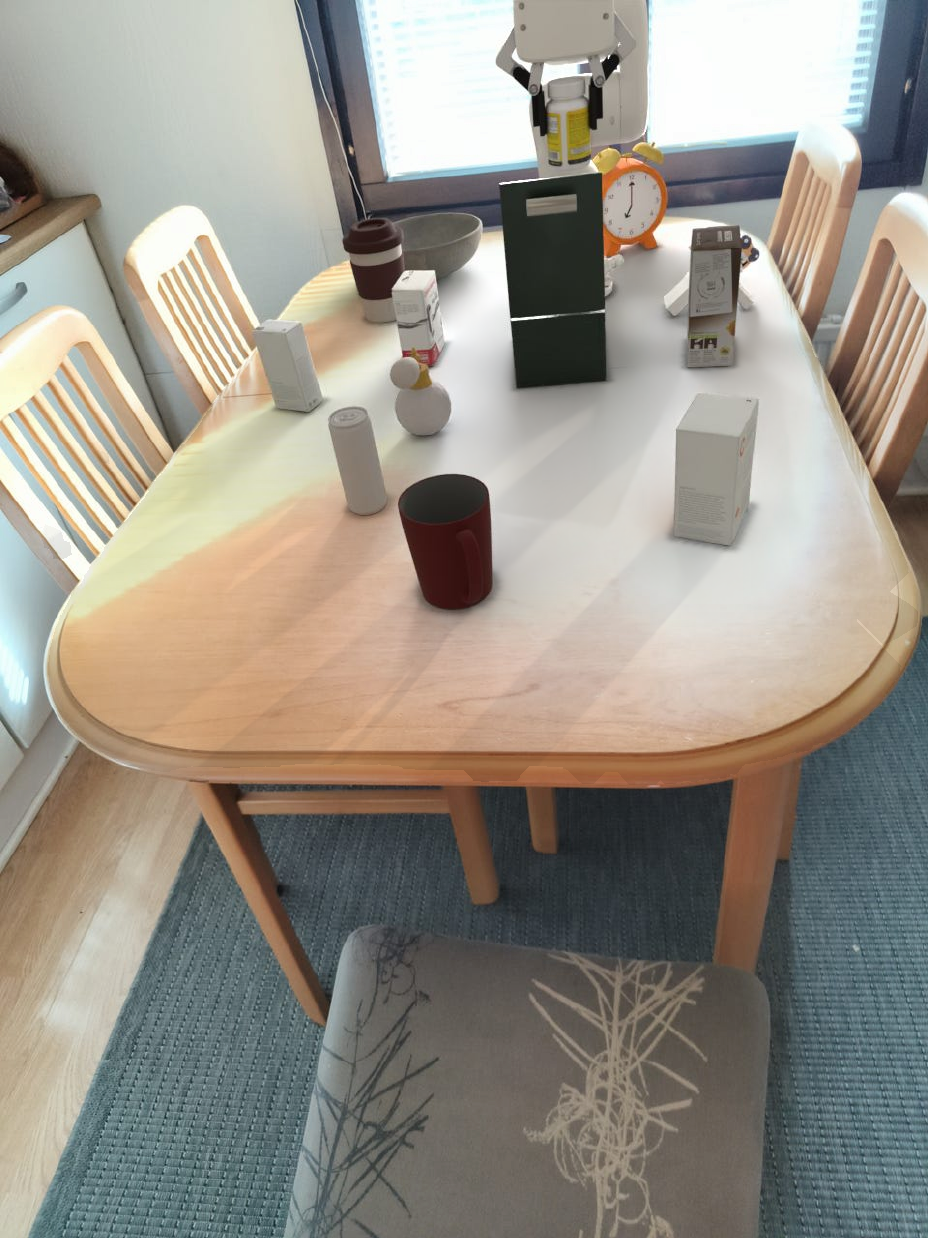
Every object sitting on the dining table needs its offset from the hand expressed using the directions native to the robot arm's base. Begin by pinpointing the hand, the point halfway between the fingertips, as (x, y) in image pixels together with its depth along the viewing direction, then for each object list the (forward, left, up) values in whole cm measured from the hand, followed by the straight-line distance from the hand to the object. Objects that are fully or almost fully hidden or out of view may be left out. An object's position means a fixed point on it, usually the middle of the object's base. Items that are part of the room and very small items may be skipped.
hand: (568, 127), depth 97 cm
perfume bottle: (+18, -10, -34) cm, 40 cm away
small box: (+8, +30, -34) cm, 46 cm away
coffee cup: (-1, -50, -34) cm, 60 cm away
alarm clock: (-47, -39, -34) cm, 70 cm away
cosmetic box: (+26, -32, -34) cm, 53 cm away
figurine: (-35, -9, -34) cm, 50 cm away
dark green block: (-4, -8, -15) cm, 18 cm away
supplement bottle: (0, 0, -4) cm, 4 cm away
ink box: (+4, -31, -34) cm, 46 cm away
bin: (-8, -13, -34) cm, 37 cm away
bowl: (-17, -60, -34) cm, 71 cm away
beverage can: (+33, -1, -34) cm, 47 cm away
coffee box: (-23, +2, -34) cm, 41 cm away
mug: (+35, +21, -34) cm, 53 cm away
